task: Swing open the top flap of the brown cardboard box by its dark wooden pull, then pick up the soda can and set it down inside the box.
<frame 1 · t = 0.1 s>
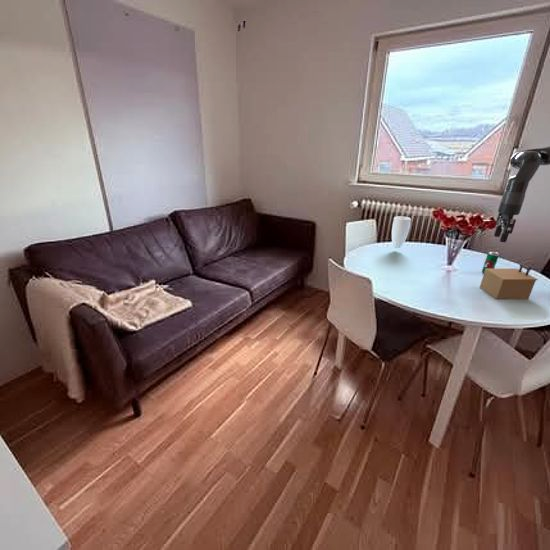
hand: (499, 239, 137), 26 cm above the table, tool pointing down, fingers open, 8 cm apart
flap: (512, 269, 141), point 12 cm above the table, hinge at 0.0°
white vase: (396, 251, 197), on the table
soda can: (486, 273, 167), on the table
carton: (503, 293, 146), on the table
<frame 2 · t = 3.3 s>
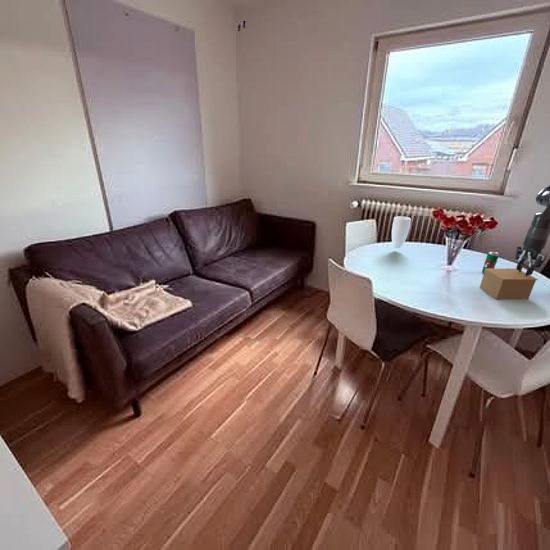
hand: (523, 272, 142), 11 cm above the table, tool pointing down, fingers closed on flap, 5 cm apart
flap: (512, 269, 141), point 12 cm above the table, hinge at 0.0°, touching gripper
everything else where it was.
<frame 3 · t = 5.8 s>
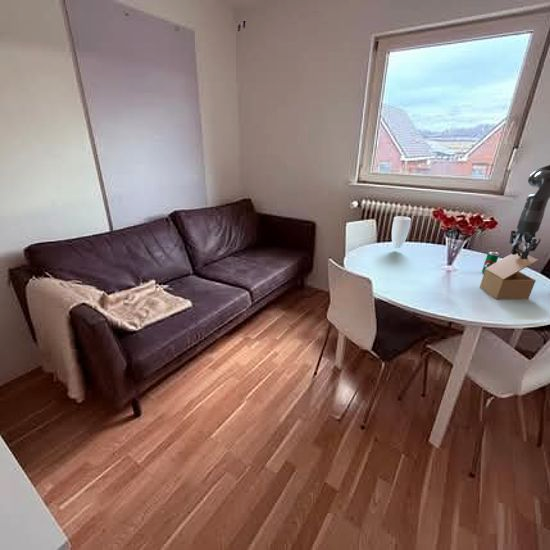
hand: (518, 256, 139), 18 cm above the table, tool pointing down, fingers closed on flap, 5 cm apart
flap: (509, 261, 139), point 16 cm above the table, hinge at 37.0°, touching gripper
everything else where it was.
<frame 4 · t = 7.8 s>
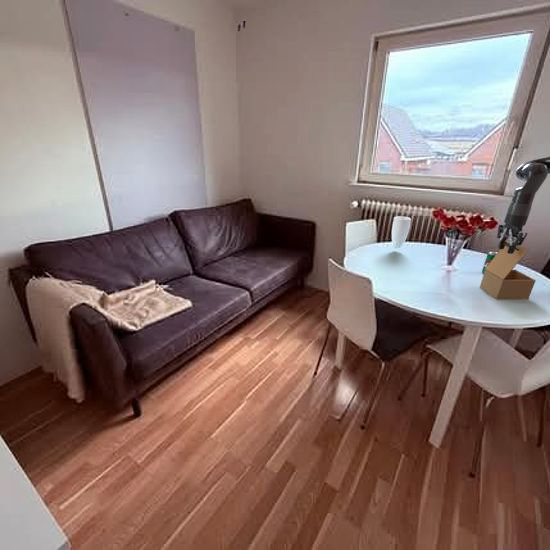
hand: (505, 250, 137), 21 cm above the table, tool pointing down, fingers closed on flap, 5 cm apart
flap: (502, 257, 139), point 18 cm above the table, hinge at 65.7°, touching gripper
everything else where it was.
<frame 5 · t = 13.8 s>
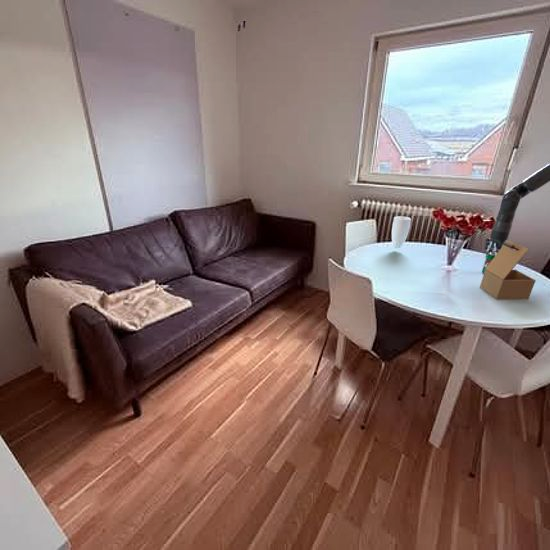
hand: (491, 260, 164), 7 cm above the table, tool pointing down, fingers closed on soda can, 5 cm apart
flap: (502, 257, 139), point 18 cm above the table, hinge at 66.1°
soda can: (486, 273, 167), on the table, touching gripper
everything else where it was.
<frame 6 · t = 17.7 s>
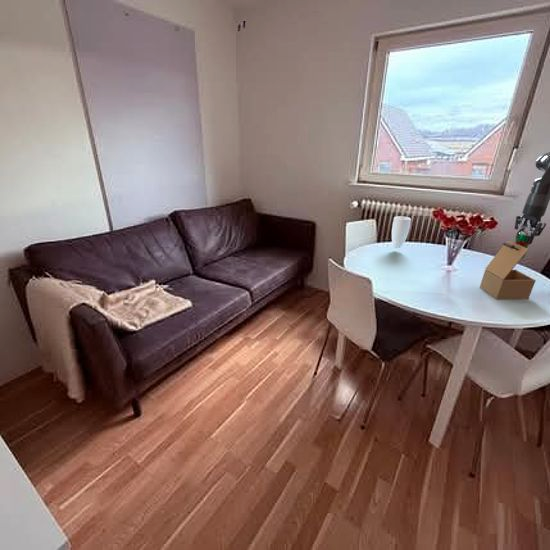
hand: (522, 241, 138), 25 cm above the table, tool pointing down, fingers closed on soda can, 5 cm apart
soda can: (517, 257, 141), point 17 cm above the table, touching gripper
everything else where it was.
when the fingers open (9 cm above the table, at t = 21.9 s): soda can drops 1 cm, resting on carton.
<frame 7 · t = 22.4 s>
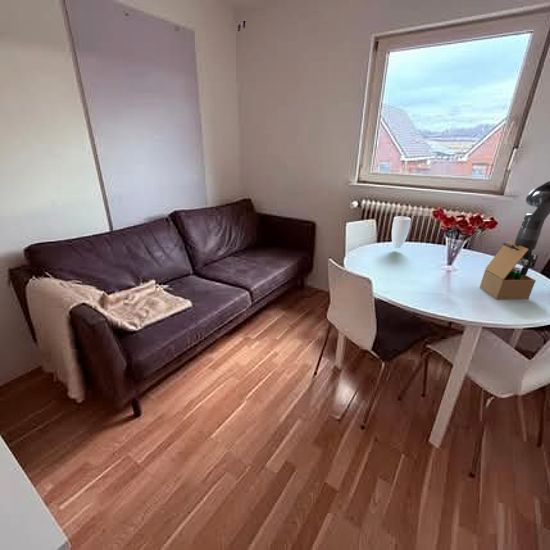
hand: (515, 271, 142), 11 cm above the table, tool pointing down, fingers open, 8 cm apart
soda can: (507, 292, 146), resting on carton
everything else where it was.
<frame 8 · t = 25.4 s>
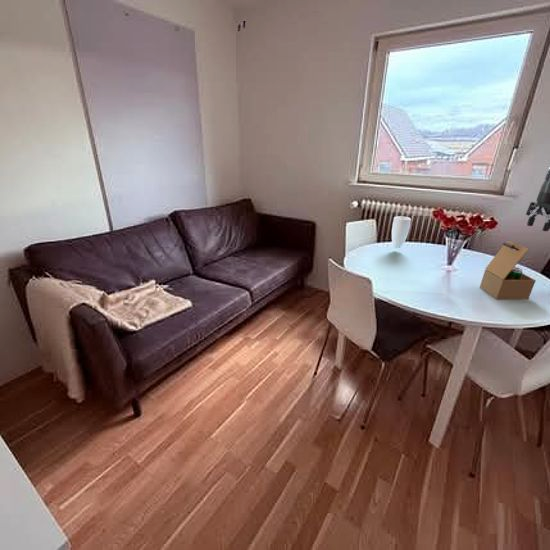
hand: (537, 228, 139), 30 cm above the table, tool pointing down, fingers open, 8 cm apart
nothing on the table moved.
at the end: flap at +66° (first picture: +0°); soda can inside the target area in the carton (2.1 cm from its centre), point 0.3 cm above the carton's base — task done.
